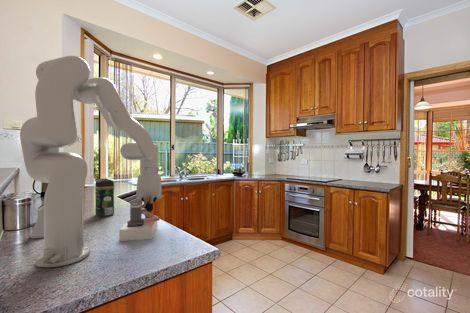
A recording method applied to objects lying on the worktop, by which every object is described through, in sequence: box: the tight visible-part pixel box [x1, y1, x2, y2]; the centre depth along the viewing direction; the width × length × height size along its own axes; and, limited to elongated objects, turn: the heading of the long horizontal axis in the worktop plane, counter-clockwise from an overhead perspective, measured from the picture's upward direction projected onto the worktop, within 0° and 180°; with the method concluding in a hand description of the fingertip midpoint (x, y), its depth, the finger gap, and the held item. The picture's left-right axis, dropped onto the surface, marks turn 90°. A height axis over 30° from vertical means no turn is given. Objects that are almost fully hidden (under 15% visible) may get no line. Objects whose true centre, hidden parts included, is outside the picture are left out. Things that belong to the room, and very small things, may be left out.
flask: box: [29, 209, 44, 239], centre depth 86 cm, size 7×7×10 cm
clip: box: [142, 207, 161, 223], centre depth 92 cm, size 18×6×2 cm, turn 42°
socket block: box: [118, 215, 158, 242], centre depth 89 cm, size 14×11×6 cm
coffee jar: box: [94, 177, 115, 218], centre depth 116 cm, size 10×8×19 cm
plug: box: [126, 202, 144, 227], centre depth 88 cm, size 6×6×12 cm
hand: (149, 212), depth 101 cm, fingers closed
